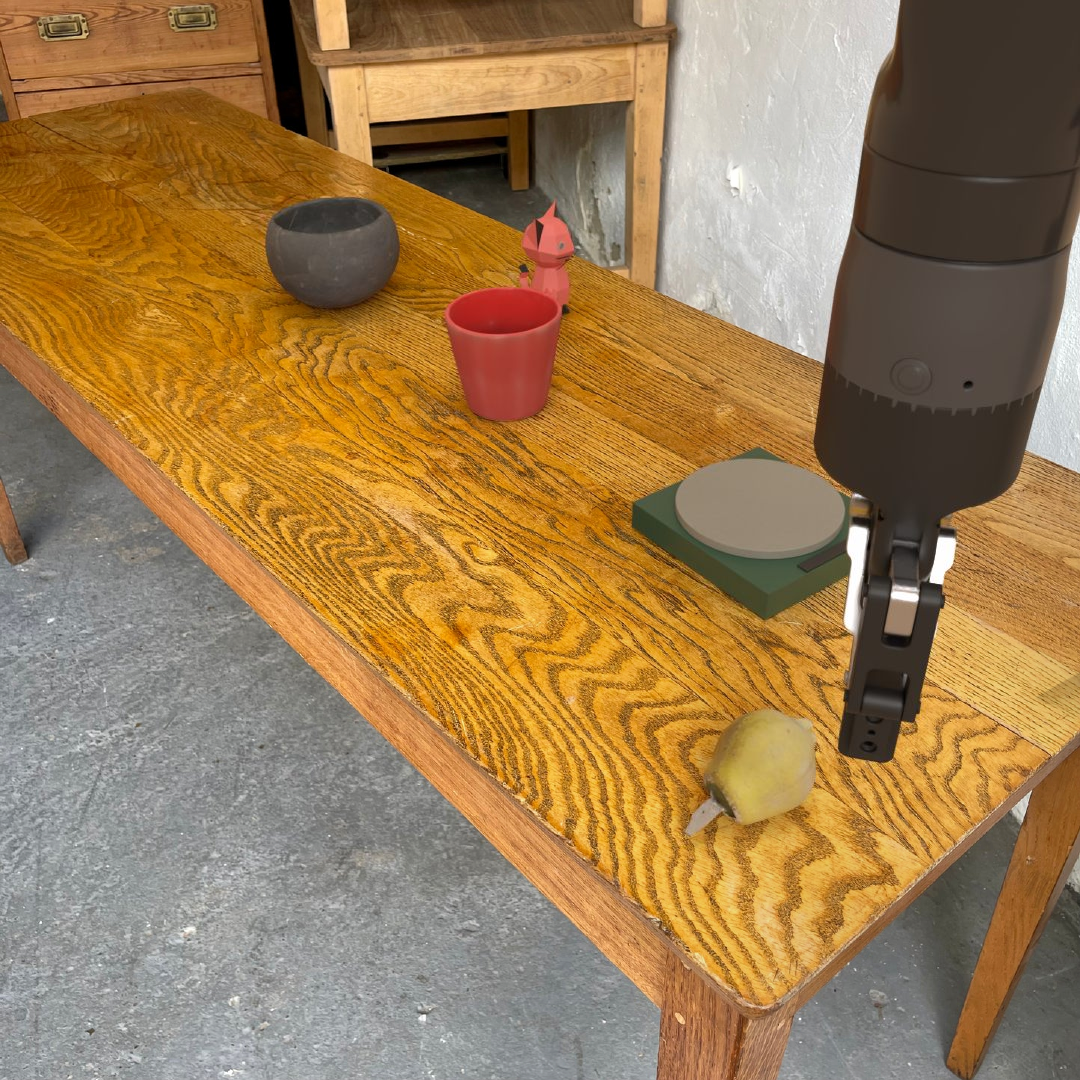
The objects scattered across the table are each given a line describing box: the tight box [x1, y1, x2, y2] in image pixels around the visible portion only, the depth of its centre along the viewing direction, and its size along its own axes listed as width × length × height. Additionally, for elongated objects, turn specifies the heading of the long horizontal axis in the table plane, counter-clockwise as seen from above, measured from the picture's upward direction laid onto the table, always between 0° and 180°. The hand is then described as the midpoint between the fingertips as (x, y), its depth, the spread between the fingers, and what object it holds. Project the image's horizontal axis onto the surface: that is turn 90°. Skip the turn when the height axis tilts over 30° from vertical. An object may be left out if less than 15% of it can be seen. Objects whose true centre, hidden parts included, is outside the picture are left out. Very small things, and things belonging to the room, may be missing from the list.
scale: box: [631, 446, 851, 621], centre depth 86 cm, size 15×14×3 cm
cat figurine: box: [518, 200, 579, 315], centre depth 120 cm, size 7×7×12 cm
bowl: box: [264, 196, 401, 309], centre depth 126 cm, size 15×15×10 cm
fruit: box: [684, 708, 818, 837], centre depth 64 cm, size 6×6×10 cm
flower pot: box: [444, 286, 563, 422], centre depth 104 cm, size 11×11×10 cm
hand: (867, 684), depth 49 cm, fingers open, 8 cm apart
